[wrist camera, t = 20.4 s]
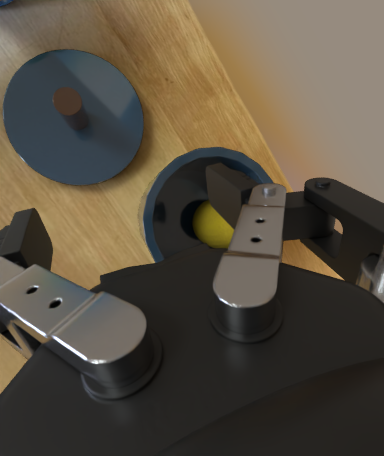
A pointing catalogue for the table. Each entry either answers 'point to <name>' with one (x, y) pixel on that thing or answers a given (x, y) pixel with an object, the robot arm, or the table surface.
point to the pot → (184, 198)
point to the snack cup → (4, 2)
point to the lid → (73, 117)
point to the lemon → (211, 227)
